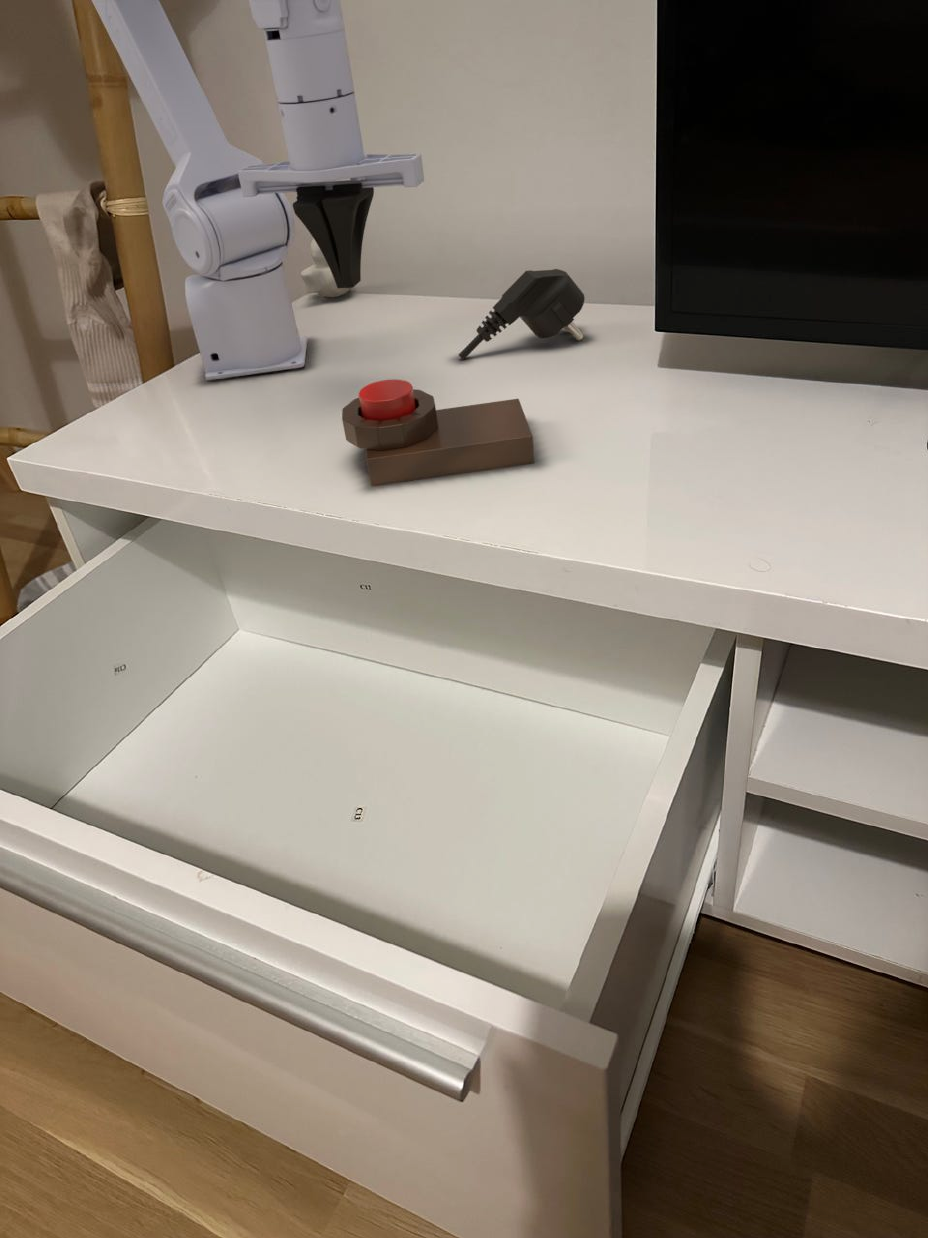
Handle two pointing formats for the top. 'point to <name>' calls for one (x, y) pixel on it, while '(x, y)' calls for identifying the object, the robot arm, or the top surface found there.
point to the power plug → (535, 307)
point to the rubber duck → (320, 276)
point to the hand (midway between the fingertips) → (349, 284)
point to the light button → (387, 400)
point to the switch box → (440, 439)
